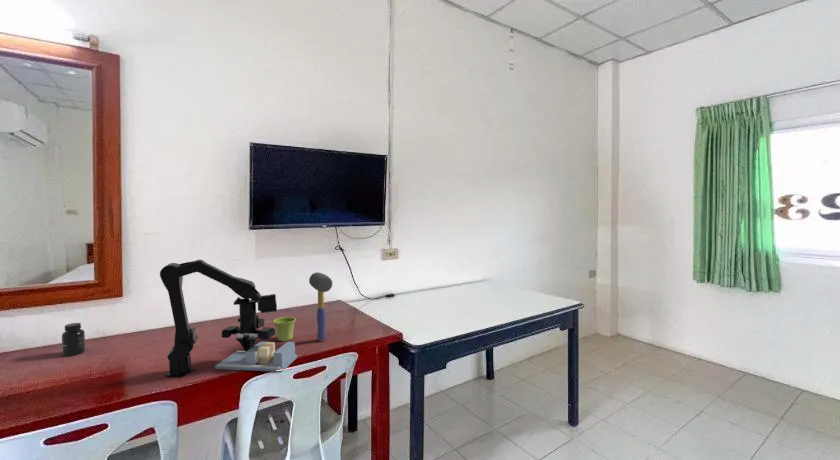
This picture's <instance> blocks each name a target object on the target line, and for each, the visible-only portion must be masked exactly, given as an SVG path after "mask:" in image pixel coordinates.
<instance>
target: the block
mask: <svg viewBox="0 0 840 460" xmlns="http://www.w3.org/2000/svg"><path fill="white" fill-rule="evenodd" d="M265 342H266V343H264V344H263V345H262V346H260V347H259V348H258V364H268V363H269V362H271V361H272V360H273V359H274V352H275V351H276V343H275V341H273V342H272V341H265Z"/></svg>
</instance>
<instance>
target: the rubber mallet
mask: <svg viewBox="0 0 840 460" xmlns="http://www.w3.org/2000/svg"><path fill="white" fill-rule="evenodd" d="M308 279H309V280H308V281H309V285H310V286H311V287H312V288H314V290H316V291H317V312H316V323H317V335H316V339H317V340H318V341H320V342H322V341H326V338H327V333H326V332H327V331H326V321H327V318H326V315H327V314H326V308H325V295H324V293H327V292H328V291H330V290H331V289H332V287H333V280H332V278H331V277H329V275H326V274H324V273H322V272H314V273H312V274H311V275H310V277H309V278H308Z"/></svg>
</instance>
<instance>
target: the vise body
mask: <svg viewBox="0 0 840 460" xmlns="http://www.w3.org/2000/svg"><path fill="white" fill-rule="evenodd" d="M295 343H296V341H287V342H285V343H284V344H283V345H281V346H280V347H279V348H278V349H277V350H275V352H274V359H273V360H272V361H271V362H269V363H268V364H258V363H256V364H255V365H247V362H246V351H245V350H236V351H235V352H233V353H232V354H231V355H229V356H227V357H226V358H225V359H223V360H221V361H220V362H219V363H217V364H216V365H214V369H216V370H236V371H256V372H257V371H258V372H259V371H260V372H274V371H276V370H280V369H284V368H286V369H287V368H288V367H289V366H290V365H291V364H292V363H293V362H294V361H295V360H296V359H297V358H298V357H297V356H298V354H296V344H295Z"/></svg>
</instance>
